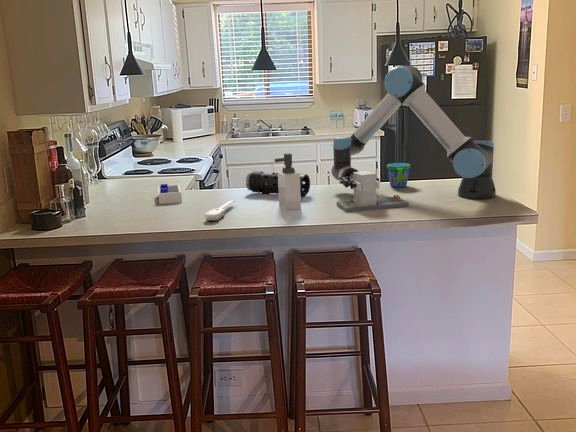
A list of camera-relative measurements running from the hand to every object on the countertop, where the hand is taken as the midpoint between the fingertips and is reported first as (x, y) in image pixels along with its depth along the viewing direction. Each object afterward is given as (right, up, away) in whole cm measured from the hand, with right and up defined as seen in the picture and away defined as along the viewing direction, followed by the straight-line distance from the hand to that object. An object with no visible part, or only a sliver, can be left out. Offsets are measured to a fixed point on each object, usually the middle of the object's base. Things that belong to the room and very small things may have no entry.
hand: (369, 186), depth 222 cm
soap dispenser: (-32, -9, +8) cm, 34 cm away
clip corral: (-84, -4, +34) cm, 91 cm away
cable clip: (-86, -4, +34) cm, 92 cm away
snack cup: (+19, +2, +42) cm, 47 cm away
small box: (-1, -7, +7) cm, 10 cm away
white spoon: (-58, -11, +5) cm, 59 cm away
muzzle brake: (-36, -2, +34) cm, 50 cm away
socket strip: (+2, -7, +8) cm, 11 cm away
